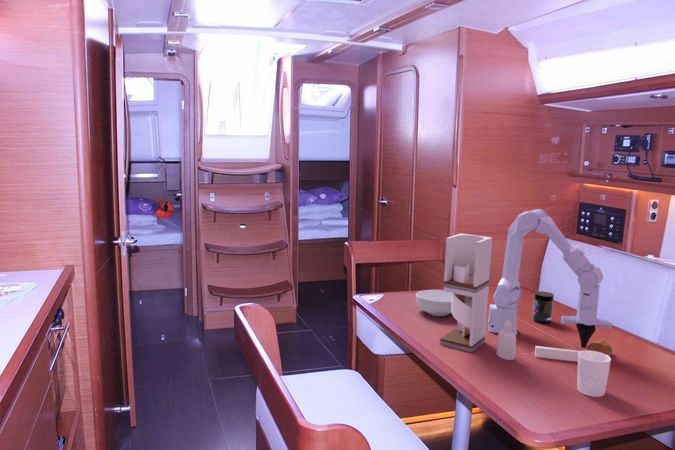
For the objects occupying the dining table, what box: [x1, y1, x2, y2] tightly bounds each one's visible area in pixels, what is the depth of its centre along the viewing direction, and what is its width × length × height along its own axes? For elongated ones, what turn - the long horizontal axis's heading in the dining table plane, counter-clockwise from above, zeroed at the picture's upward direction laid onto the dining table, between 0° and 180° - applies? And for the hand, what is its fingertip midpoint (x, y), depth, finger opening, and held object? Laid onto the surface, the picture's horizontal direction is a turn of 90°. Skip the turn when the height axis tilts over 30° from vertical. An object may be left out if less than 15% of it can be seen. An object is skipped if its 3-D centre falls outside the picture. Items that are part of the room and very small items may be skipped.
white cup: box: [576, 349, 612, 398], centre depth 144 cm, size 8×8×10 cm
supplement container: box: [531, 290, 555, 325], centre depth 200 cm, size 7×7×10 cm
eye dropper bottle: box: [496, 320, 517, 361], centre depth 165 cm, size 4×6×12 cm
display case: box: [439, 233, 493, 353], centre depth 174 cm, size 11×11×35 cm
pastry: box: [585, 340, 614, 357], centre depth 170 cm, size 9×7×4 cm
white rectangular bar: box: [534, 345, 581, 363], centre depth 166 cm, size 14×2×3 cm, turn 76°
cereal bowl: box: [415, 289, 452, 317], centre depth 207 cm, size 17×17×7 cm
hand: (583, 346), depth 173 cm, fingers closed
